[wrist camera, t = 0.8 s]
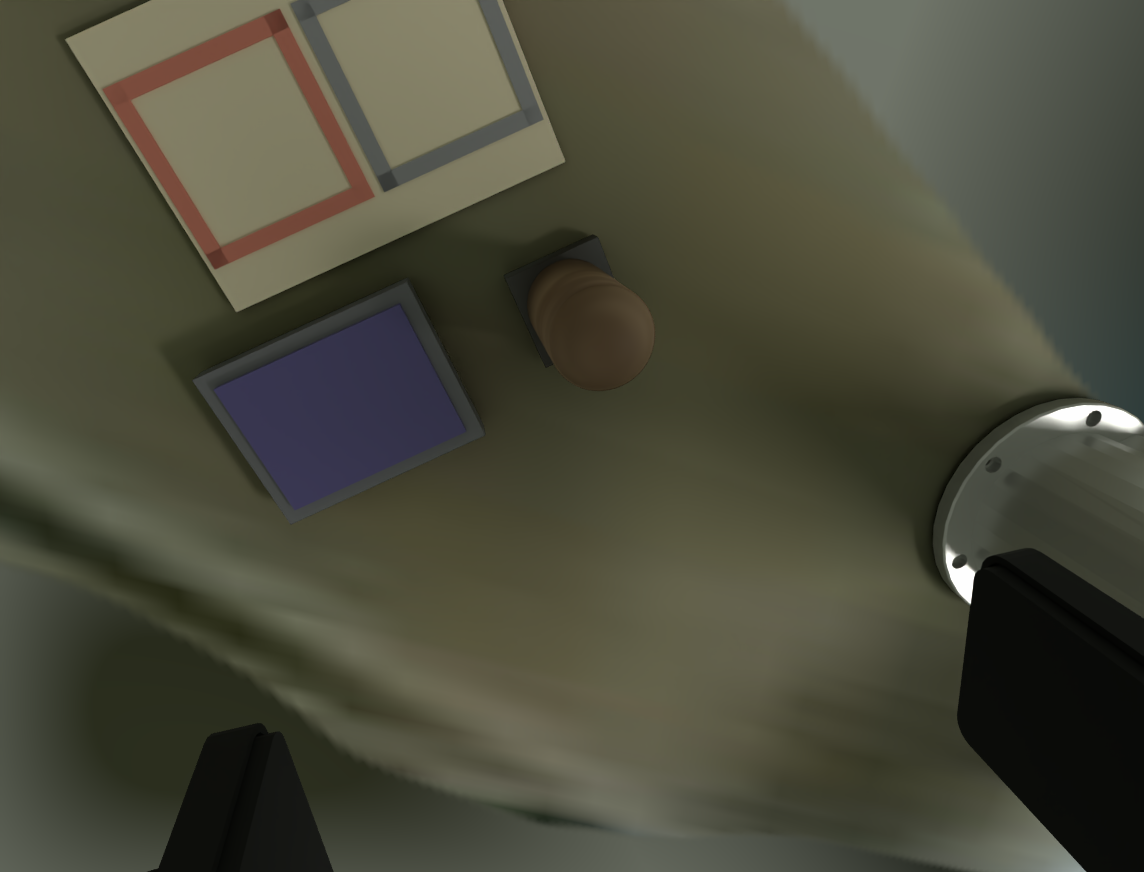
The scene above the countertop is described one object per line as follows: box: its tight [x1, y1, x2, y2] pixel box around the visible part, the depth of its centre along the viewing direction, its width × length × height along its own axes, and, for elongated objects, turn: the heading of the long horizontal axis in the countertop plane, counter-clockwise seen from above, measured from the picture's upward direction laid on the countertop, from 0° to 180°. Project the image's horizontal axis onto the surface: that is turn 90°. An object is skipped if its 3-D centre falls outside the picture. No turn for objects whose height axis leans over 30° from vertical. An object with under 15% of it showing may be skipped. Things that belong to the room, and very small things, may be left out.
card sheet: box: [65, 0, 565, 312], centre depth 26 cm, size 14×10×1 cm
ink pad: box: [192, 278, 485, 524], centre depth 29 cm, size 9×7×2 cm
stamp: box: [504, 235, 655, 391], centre depth 26 cm, size 4×4×8 cm
